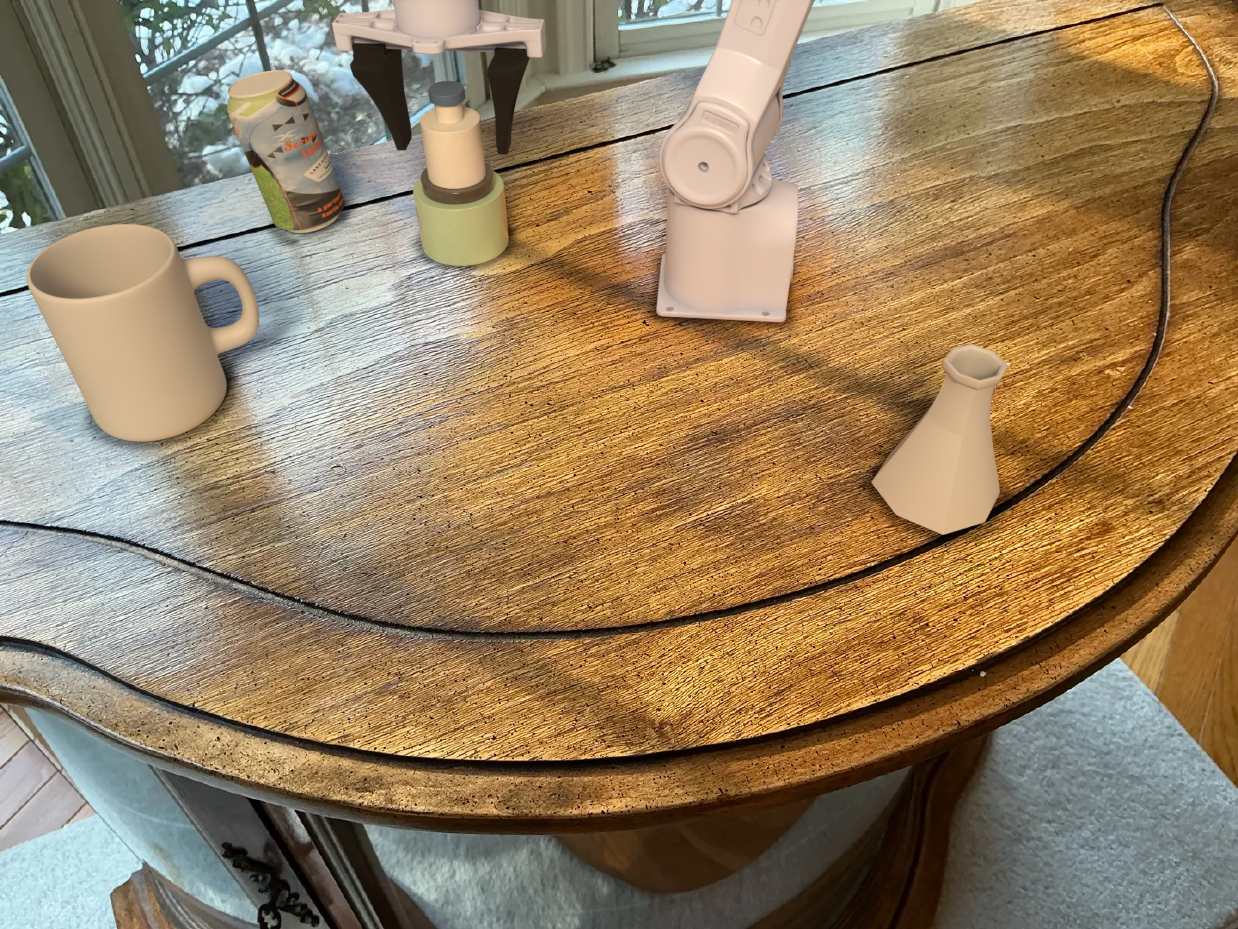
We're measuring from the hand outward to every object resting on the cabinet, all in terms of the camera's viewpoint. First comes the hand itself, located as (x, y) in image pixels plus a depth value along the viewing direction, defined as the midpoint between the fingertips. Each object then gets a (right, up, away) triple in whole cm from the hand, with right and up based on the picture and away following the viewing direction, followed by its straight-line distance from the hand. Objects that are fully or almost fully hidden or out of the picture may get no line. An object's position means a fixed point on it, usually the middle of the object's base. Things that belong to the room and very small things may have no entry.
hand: (454, 146), depth 74 cm
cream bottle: (0, -2, +1) cm, 2 cm away
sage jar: (0, -6, +6) cm, 8 cm away
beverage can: (-14, -4, +8) cm, 16 cm away
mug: (-17, -19, -8) cm, 27 cm away
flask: (+32, -26, -14) cm, 43 cm away
